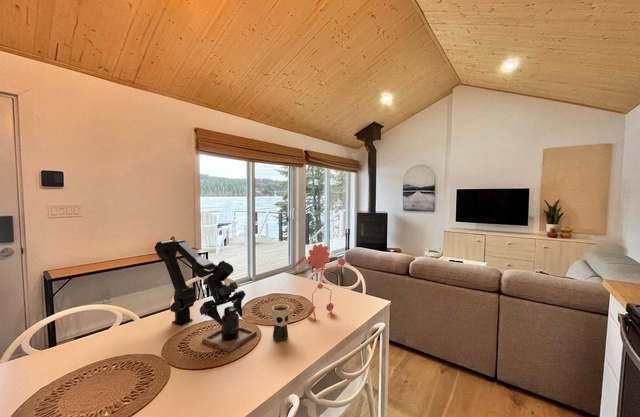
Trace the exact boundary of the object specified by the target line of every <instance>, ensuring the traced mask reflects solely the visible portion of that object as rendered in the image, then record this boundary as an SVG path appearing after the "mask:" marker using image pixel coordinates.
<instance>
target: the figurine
mask: <svg viewBox="0 0 640 417" xmlns="http://www.w3.org/2000/svg"><path fill="white" fill-rule="evenodd" d="M328 250H329V247H328V246H327V245H325V246H323V244H322V243H320V244H318V245H317V244H314V245H313V247H312V249H309V250H308V254H309V255H308V257H307V256H306V255H304V256H302V257H301V258H300V259H299V260H297V261H296V263H295V265H294V268H296V267H298V266H300V265H301V264H302V263H303V262H304V261H306V264H307V266H308V268H309V271H310V272H311V273H316V272H319V271H321V272H320V278H319V283H317V287H316V288H315V289H314V291H313V293H312V294H311V300H312V301H311V304H312V305H311V307H310V310H309V311H308V312H307V317H309V316H310V315H311V314H312V313H313V318H314V321H316V320H317V319H316V312H315V309H316V308H315V307H316V306H315V305H314V294H315V292H316V291H317V289H320V290H322V289H323V288H324V289H326V290H328V291H330V296H329V303H327V304H326V307H325V309H326V310H327V311H328V312H330V315H331V317H332V318H333V317H334V315H333V310H334V308H335V307H334V304H333V303H331V300H332V290H331V289H330V288H327V287H325V286H324V284H323V283H322V282H321V281H322V276H323V271H325V272H326V271H327V272H330V273H334V272H335V270H336V269H337V267H338V266H339V265H340V266H341V267H343V266H344V265H346V260H345V259H344V258H343V257H340V258H338V259H337V264H336V266H335V267H334V268H333V269H332V270H330V269H326V268H325V266H326V263H327V264H328V263H330V262H331V259H330V257H329V256H330V255H331V254H330V251H328ZM312 267H314V269H315V270H312ZM342 314H343V315H344V313H342Z"/></svg>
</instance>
